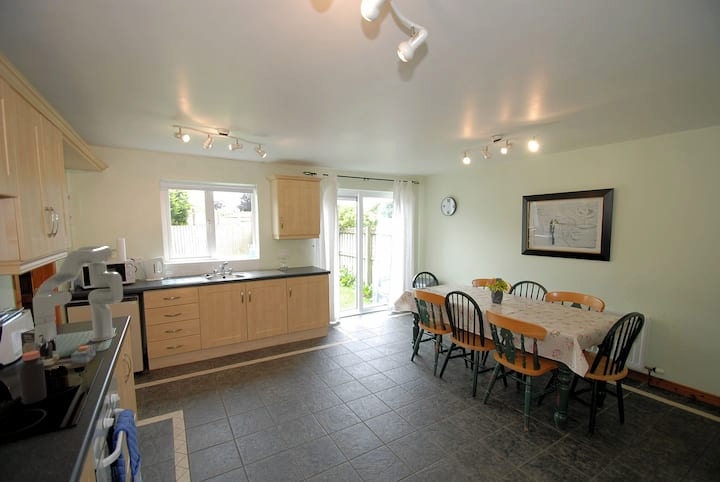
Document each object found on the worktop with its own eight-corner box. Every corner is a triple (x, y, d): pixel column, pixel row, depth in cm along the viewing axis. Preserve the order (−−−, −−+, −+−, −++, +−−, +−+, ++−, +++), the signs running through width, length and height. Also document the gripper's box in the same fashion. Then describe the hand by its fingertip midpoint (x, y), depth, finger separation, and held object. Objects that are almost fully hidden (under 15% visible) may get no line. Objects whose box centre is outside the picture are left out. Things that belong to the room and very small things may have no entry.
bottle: (31, 405, 122) (26, 357, 121) (18, 403, 124) (13, 356, 122) (51, 396, 129) (47, 350, 128) (38, 394, 130) (34, 349, 129)
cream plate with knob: (46, 360, 158) (45, 340, 157) (59, 358, 160) (57, 339, 159) (38, 367, 150) (36, 346, 150) (51, 364, 152) (49, 344, 152)
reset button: (81, 351, 161) (80, 346, 161) (89, 350, 163) (88, 345, 163) (78, 354, 158) (78, 348, 158) (86, 353, 160) (86, 347, 160)
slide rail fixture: (41, 365, 158) (40, 352, 158) (96, 356, 168) (95, 344, 167) (28, 375, 147) (26, 361, 147) (87, 365, 157) (86, 352, 156)
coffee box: (22, 362, 162) (19, 333, 161) (36, 357, 169) (33, 328, 168) (37, 362, 161) (34, 333, 160) (50, 357, 168) (48, 329, 167)
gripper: (44, 315, 160) (47, 348, 161) (25, 325, 144) (28, 362, 145) (63, 313, 163) (66, 346, 164) (46, 322, 147) (49, 359, 148)
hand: (48, 353), depth 155 cm, fingers open, 6 cm apart
